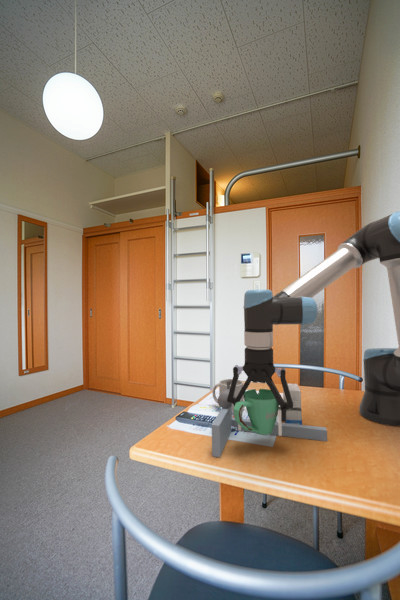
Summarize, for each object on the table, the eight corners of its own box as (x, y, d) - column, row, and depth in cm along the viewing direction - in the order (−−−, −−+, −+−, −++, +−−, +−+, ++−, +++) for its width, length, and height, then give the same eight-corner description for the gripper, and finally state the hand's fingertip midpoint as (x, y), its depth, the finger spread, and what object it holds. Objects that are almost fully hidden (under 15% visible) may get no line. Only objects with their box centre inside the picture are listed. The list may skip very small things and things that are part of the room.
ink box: (302, 429, 85) (301, 391, 85) (285, 428, 86) (285, 390, 86) (298, 418, 93) (297, 383, 93) (283, 417, 94) (282, 382, 94)
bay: (325, 435, 81) (324, 385, 81) (337, 475, 62) (335, 410, 62) (224, 423, 90) (223, 378, 90) (207, 455, 71) (206, 398, 71)
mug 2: (262, 420, 82) (260, 386, 82) (289, 431, 74) (287, 394, 74) (224, 435, 74) (222, 397, 74) (250, 449, 66) (248, 407, 66)
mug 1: (248, 411, 99) (248, 383, 99) (225, 416, 96) (224, 387, 96) (233, 402, 109) (233, 376, 109) (211, 405, 106) (211, 379, 106)
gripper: (302, 346, 74) (303, 430, 74) (221, 343, 81) (221, 420, 81) (303, 351, 67) (305, 443, 67) (214, 347, 74) (215, 431, 73)
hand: (259, 430), depth 74 cm, fingers closed on mug 2, 10 cm apart
